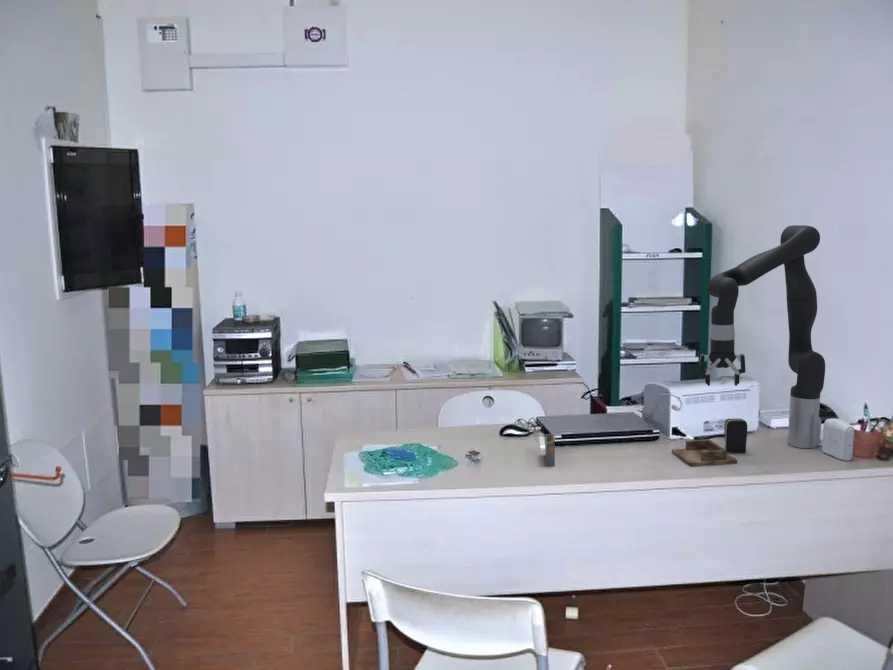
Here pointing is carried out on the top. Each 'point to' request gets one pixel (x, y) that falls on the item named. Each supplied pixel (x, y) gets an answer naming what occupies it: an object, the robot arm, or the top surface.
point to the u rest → (703, 454)
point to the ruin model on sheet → (550, 450)
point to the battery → (735, 435)
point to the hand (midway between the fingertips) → (722, 385)
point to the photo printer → (838, 439)
